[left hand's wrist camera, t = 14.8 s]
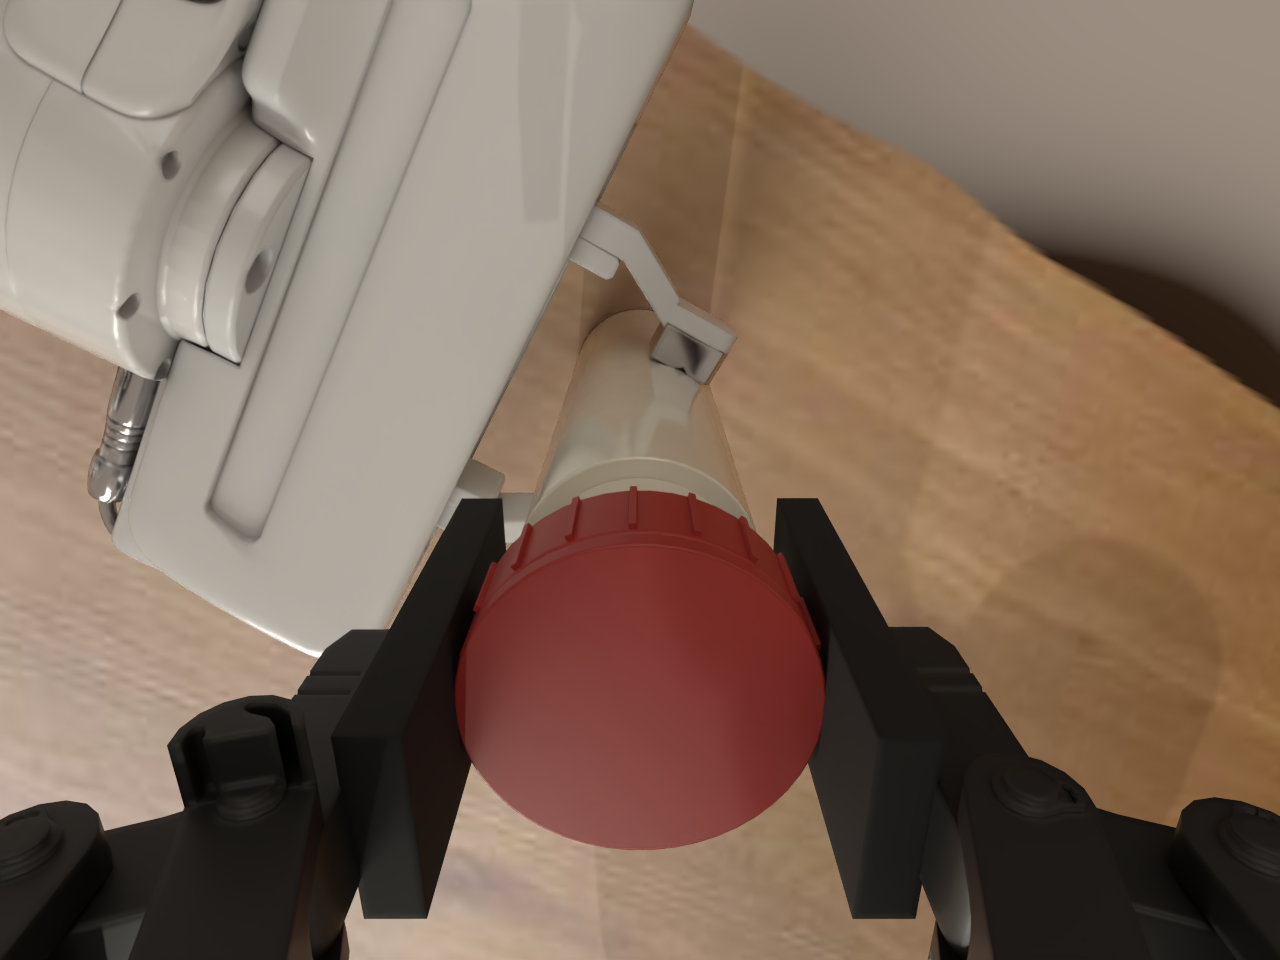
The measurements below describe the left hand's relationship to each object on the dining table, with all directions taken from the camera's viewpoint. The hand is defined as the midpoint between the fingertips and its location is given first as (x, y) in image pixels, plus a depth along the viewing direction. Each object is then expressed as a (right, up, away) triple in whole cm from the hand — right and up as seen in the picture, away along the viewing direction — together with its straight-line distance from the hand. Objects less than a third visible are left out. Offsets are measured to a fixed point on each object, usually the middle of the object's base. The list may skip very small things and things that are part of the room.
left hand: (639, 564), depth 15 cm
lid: (0, -1, -4) cm, 4 cm away
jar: (0, +5, +13) cm, 14 cm away
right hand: (+1, +2, +7) cm, 7 cm away
